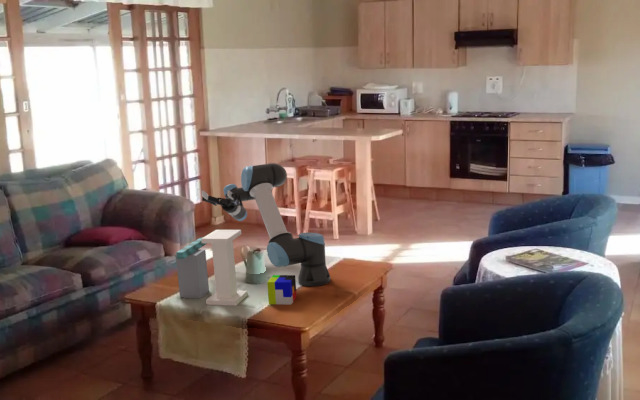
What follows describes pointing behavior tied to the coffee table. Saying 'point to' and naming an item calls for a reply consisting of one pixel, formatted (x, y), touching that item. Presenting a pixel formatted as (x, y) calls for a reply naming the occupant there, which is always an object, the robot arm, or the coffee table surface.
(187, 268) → the slate block
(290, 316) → the coffee table surface
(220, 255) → the off-white stand
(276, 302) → the puzzle toy
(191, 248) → the teal bar
